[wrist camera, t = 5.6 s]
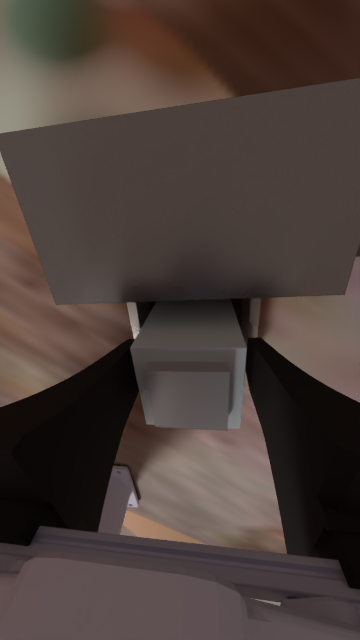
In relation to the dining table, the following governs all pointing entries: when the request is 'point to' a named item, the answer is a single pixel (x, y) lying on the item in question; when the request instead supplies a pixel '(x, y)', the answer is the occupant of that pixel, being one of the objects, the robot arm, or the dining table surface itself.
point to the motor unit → (197, 201)
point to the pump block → (191, 365)
